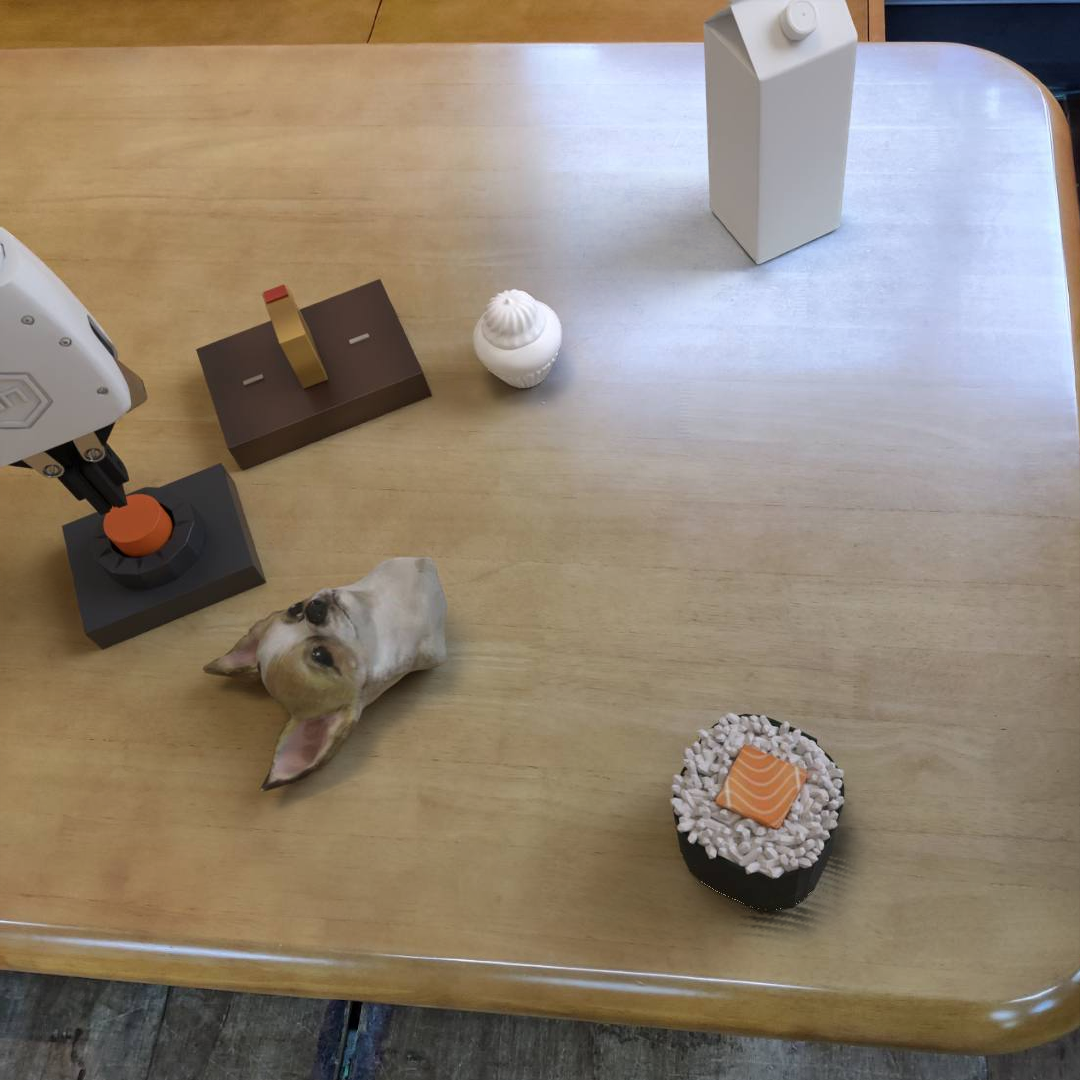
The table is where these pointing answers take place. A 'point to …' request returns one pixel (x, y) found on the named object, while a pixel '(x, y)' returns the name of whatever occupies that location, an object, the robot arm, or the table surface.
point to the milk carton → (778, 119)
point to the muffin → (518, 338)
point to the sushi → (757, 810)
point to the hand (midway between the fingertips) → (110, 492)
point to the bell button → (138, 526)
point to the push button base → (164, 560)
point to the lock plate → (327, 407)
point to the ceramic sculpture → (340, 657)
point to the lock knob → (294, 336)
